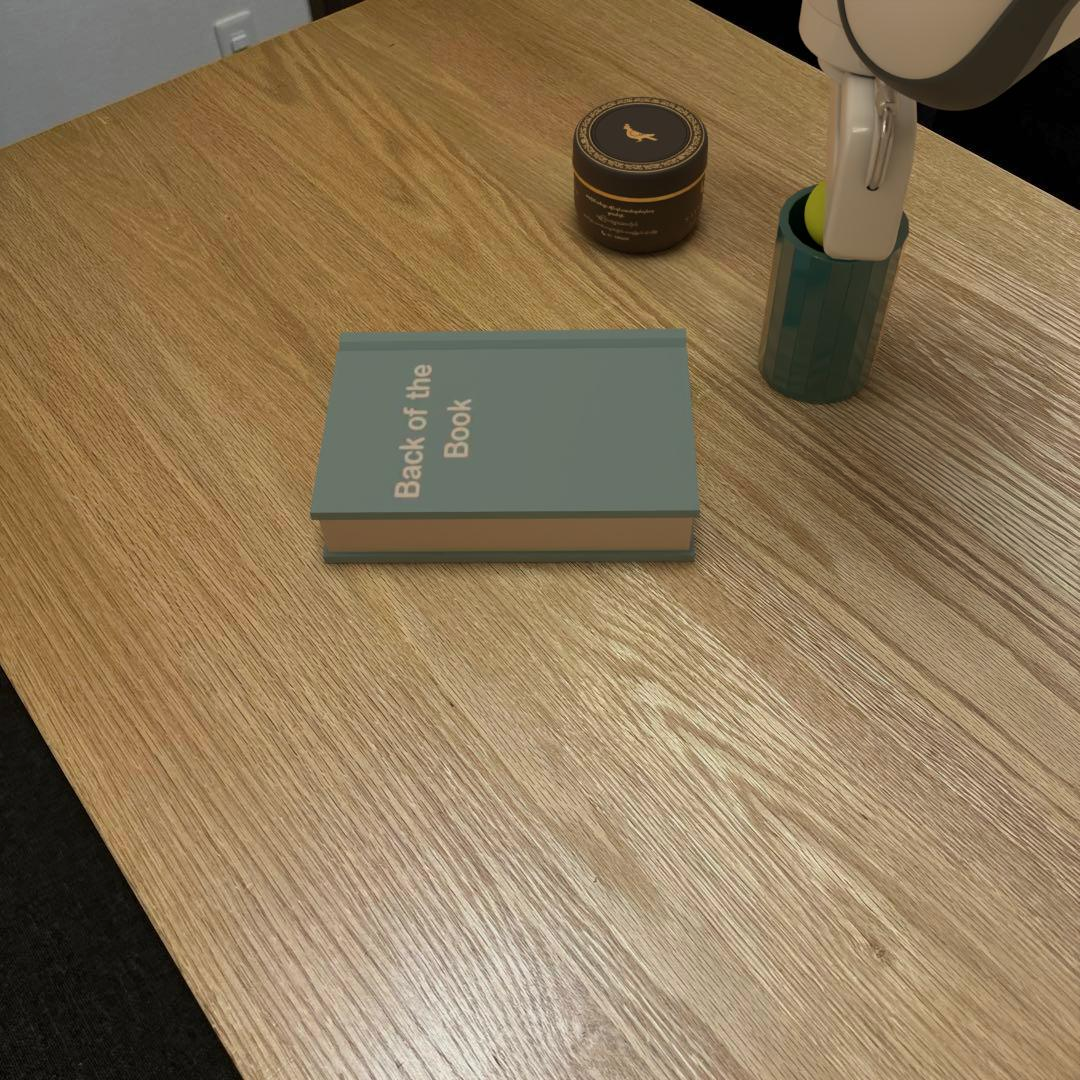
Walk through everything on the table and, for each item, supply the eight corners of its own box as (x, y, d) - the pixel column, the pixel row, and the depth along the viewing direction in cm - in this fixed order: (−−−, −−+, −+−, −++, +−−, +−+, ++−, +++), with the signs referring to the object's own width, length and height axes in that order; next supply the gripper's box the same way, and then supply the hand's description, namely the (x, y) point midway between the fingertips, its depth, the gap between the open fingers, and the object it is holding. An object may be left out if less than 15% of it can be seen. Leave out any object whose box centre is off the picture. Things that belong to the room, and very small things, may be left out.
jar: (688, 269, 89) (696, 183, 82) (558, 250, 90) (556, 164, 84) (712, 188, 94) (720, 102, 88) (589, 171, 96) (589, 85, 90)
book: (324, 563, 73) (309, 512, 69) (353, 376, 83) (342, 322, 79) (694, 561, 72) (700, 510, 68) (679, 372, 82) (684, 318, 78)
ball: (874, 223, 75) (889, 160, 72) (874, 270, 72) (890, 207, 69) (800, 217, 76) (811, 154, 72) (798, 264, 73) (809, 201, 69)
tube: (872, 329, 84) (908, 186, 75) (871, 409, 80) (910, 268, 70) (760, 319, 85) (782, 177, 76) (753, 397, 81) (775, 257, 71)
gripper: (959, 123, 55) (898, 343, 66) (945, -88, 67) (895, 127, 78) (821, 114, 56) (783, 332, 67) (831, -93, 68) (797, 120, 79)
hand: (843, 220), depth 73 cm, fingers closed on ball, 4 cm apart
